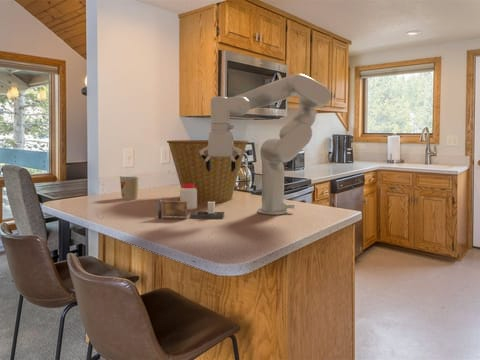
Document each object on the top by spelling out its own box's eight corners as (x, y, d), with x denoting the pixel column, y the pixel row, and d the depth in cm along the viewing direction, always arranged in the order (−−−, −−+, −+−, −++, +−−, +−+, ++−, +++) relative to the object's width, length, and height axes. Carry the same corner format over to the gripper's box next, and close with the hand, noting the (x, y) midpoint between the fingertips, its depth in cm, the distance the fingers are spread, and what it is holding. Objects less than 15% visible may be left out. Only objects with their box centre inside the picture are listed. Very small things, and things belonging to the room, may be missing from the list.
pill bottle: (194, 209, 171) (193, 185, 169) (177, 209, 172) (177, 184, 171) (199, 206, 178) (199, 183, 177) (183, 205, 180) (183, 182, 178)
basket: (151, 201, 191) (149, 140, 187) (193, 190, 229) (193, 139, 225) (228, 208, 174) (228, 142, 171) (259, 195, 213) (260, 140, 209)
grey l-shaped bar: (187, 218, 153) (187, 200, 152) (186, 219, 151) (186, 200, 151) (158, 218, 154) (158, 199, 153) (157, 218, 152) (157, 200, 151)
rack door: (187, 216, 153) (186, 201, 152) (186, 216, 151) (186, 201, 151) (163, 215, 153) (163, 200, 152) (162, 216, 152) (162, 201, 151)
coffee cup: (120, 197, 201) (119, 175, 200) (138, 197, 204) (138, 174, 203) (120, 200, 193) (119, 176, 191) (139, 199, 195) (139, 176, 194)
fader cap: (214, 211, 158) (214, 200, 157) (213, 213, 154) (213, 202, 154) (209, 211, 158) (209, 200, 158) (207, 213, 155) (207, 202, 154)
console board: (224, 215, 159) (224, 211, 159) (222, 218, 153) (222, 214, 153) (193, 214, 160) (193, 211, 160) (190, 217, 154) (190, 214, 154)
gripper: (243, 128, 155) (243, 170, 157) (201, 128, 157) (201, 170, 160) (240, 128, 148) (241, 172, 150) (196, 128, 150) (197, 172, 152)
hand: (220, 171), depth 155 cm, fingers open, 9 cm apart
